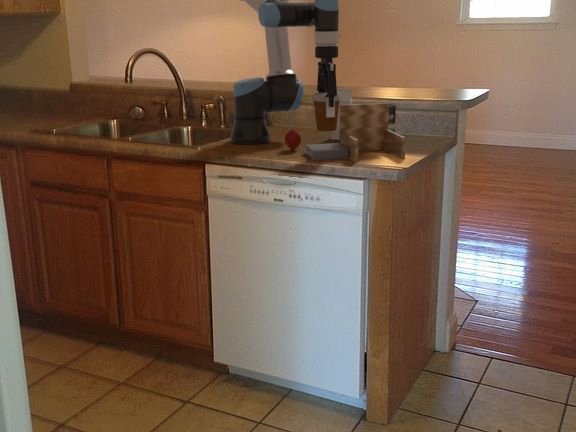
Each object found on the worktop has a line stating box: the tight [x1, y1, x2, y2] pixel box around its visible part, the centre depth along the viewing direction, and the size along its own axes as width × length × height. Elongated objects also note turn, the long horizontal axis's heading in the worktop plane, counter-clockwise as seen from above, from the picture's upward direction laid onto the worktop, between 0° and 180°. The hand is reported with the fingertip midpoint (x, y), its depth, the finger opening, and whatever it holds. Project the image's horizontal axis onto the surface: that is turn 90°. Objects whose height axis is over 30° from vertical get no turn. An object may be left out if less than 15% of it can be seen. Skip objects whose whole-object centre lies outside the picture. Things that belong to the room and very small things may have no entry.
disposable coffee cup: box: [311, 92, 341, 132], centre depth 219 cm, size 10×10×12 cm
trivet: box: [304, 142, 350, 161], centre depth 223 cm, size 12×12×3 cm
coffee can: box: [388, 103, 397, 133], centre depth 241 cm, size 10×10×14 cm
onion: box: [284, 127, 302, 151], centre depth 232 cm, size 6×6×8 cm
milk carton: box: [330, 88, 353, 141], centre depth 252 cm, size 7×7×19 cm
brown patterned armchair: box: [339, 102, 407, 162], centre depth 221 cm, size 17×18×16 cm
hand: (326, 115), depth 219 cm, fingers closed on disposable coffee cup, 9 cm apart
